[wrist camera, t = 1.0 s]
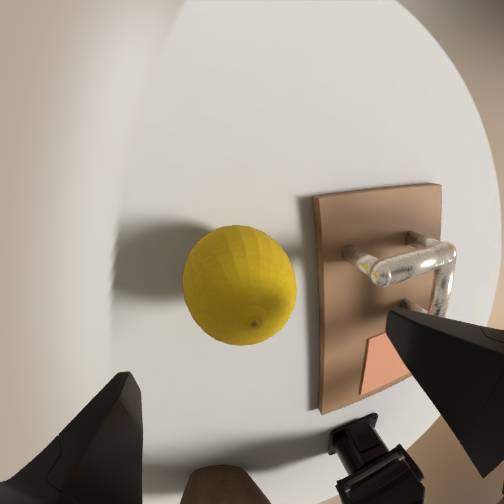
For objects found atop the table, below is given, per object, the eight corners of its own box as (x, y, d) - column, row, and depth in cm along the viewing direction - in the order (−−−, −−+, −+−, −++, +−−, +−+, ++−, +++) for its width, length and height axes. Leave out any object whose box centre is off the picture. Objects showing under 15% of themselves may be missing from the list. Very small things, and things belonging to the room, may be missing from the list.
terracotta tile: (415, 367, 24) (416, 368, 24) (359, 394, 23) (360, 395, 23) (429, 312, 22) (430, 313, 22) (368, 338, 21) (369, 339, 21)
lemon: (172, 279, 17) (160, 357, 10) (206, 199, 16) (215, 226, 9) (248, 306, 19) (281, 387, 11) (285, 235, 18) (346, 283, 10)
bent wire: (409, 309, 21) (444, 335, 17) (338, 335, 20) (368, 372, 16) (417, 226, 19) (461, 243, 14) (338, 243, 18) (380, 268, 13)
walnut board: (409, 369, 26) (414, 374, 25) (318, 408, 24) (321, 415, 23) (433, 183, 19) (441, 184, 18) (312, 196, 17) (319, 198, 16)
